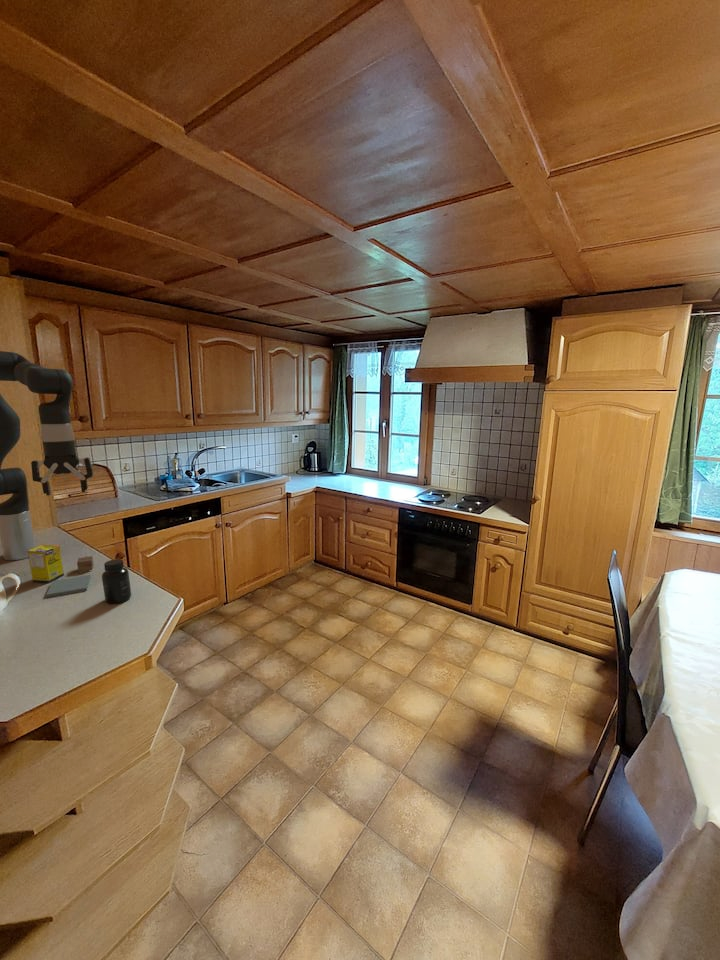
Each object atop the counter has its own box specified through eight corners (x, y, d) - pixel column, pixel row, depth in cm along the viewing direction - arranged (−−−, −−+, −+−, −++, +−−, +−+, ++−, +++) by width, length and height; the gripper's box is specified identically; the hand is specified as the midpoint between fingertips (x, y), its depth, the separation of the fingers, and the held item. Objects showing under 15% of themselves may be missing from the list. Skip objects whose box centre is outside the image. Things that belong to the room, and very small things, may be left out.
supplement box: (64, 575, 132) (60, 544, 130) (49, 583, 126) (44, 551, 124) (48, 574, 133) (43, 543, 130) (32, 582, 127) (27, 550, 124)
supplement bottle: (127, 591, 123) (124, 555, 120) (134, 599, 118) (130, 562, 115) (102, 598, 118) (97, 561, 115) (108, 607, 113) (103, 569, 111)
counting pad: (53, 583, 126) (52, 580, 126) (90, 577, 131) (90, 574, 130) (46, 597, 117) (46, 594, 117) (86, 590, 122) (86, 587, 122)
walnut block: (80, 568, 137) (78, 557, 137) (93, 566, 139) (92, 556, 138) (78, 573, 134) (77, 562, 133) (92, 570, 136) (91, 560, 135)
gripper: (89, 437, 120) (96, 488, 123) (30, 439, 114) (39, 493, 117) (86, 439, 114) (93, 493, 117) (23, 441, 107) (33, 498, 110)
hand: (66, 493), depth 117 cm, fingers open, 8 cm apart
